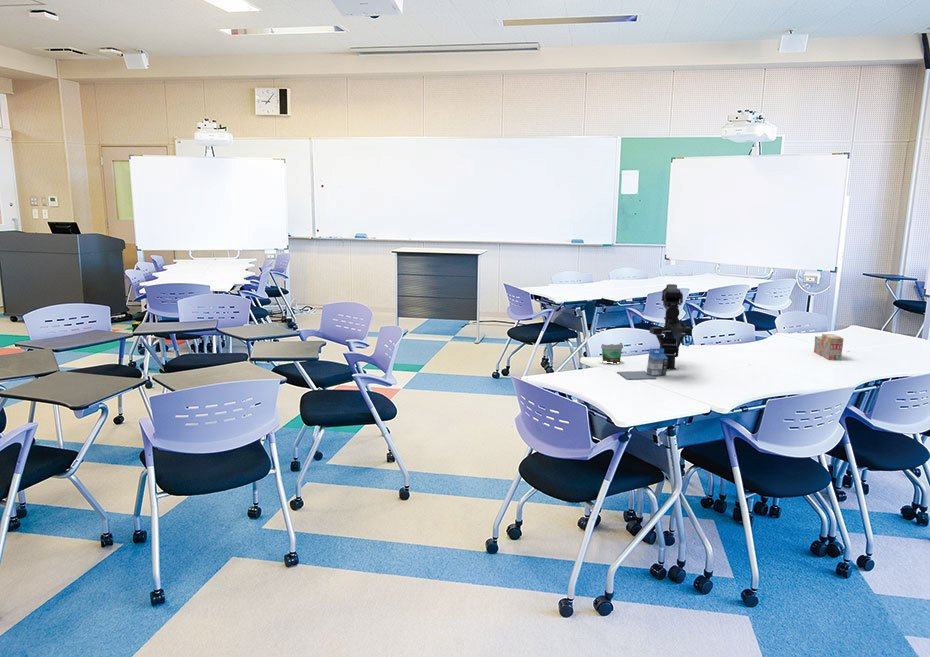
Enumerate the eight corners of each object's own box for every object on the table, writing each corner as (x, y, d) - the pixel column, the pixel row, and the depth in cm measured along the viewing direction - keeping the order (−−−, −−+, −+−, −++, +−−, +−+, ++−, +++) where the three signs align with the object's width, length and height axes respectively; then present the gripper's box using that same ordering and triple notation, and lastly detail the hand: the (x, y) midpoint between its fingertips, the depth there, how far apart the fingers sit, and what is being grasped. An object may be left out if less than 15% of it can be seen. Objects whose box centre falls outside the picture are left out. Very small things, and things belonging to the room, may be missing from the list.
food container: (607, 365, 326) (608, 346, 325) (600, 363, 332) (601, 344, 330) (627, 363, 331) (628, 344, 329) (620, 361, 337) (621, 342, 335)
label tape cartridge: (651, 375, 303) (654, 350, 301) (646, 374, 306) (649, 348, 304) (666, 375, 306) (669, 350, 304) (661, 373, 310) (664, 348, 308)
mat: (644, 372, 313) (644, 371, 313) (656, 379, 299) (656, 378, 299) (616, 372, 311) (616, 371, 311) (627, 379, 298) (627, 378, 298)
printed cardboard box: (813, 352, 362) (815, 330, 360) (825, 352, 361) (827, 331, 359) (828, 360, 341) (831, 337, 339) (841, 361, 340) (843, 338, 338)
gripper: (659, 318, 293) (657, 352, 296) (698, 318, 295) (696, 351, 298) (649, 315, 304) (648, 347, 307) (687, 314, 306) (685, 346, 309)
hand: (669, 348), depth 305 cm, fingers open, 7 cm apart
